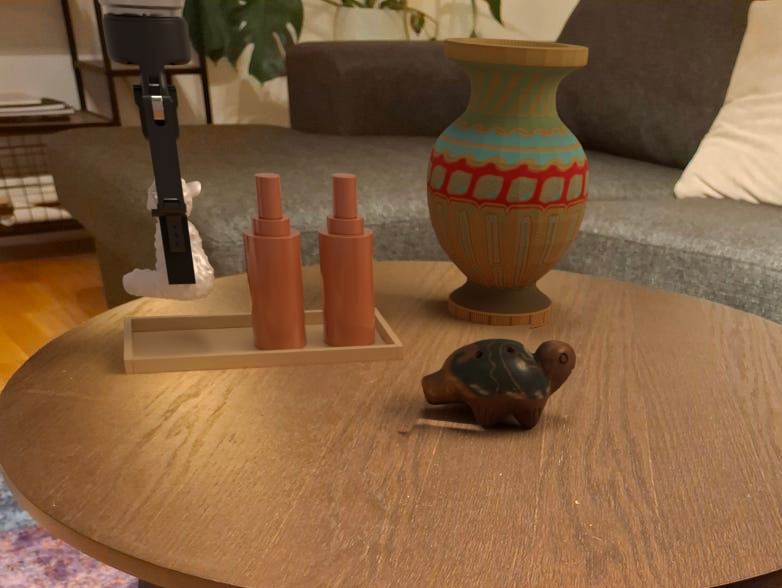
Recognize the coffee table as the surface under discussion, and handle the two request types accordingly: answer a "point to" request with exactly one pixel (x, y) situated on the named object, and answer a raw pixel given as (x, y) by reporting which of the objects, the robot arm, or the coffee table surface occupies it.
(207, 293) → the sitting furry creature
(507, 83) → the vase
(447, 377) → the decorative turtle
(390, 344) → the tray
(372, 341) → the far bottle
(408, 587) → the coffee table surface
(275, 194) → the near bottle
